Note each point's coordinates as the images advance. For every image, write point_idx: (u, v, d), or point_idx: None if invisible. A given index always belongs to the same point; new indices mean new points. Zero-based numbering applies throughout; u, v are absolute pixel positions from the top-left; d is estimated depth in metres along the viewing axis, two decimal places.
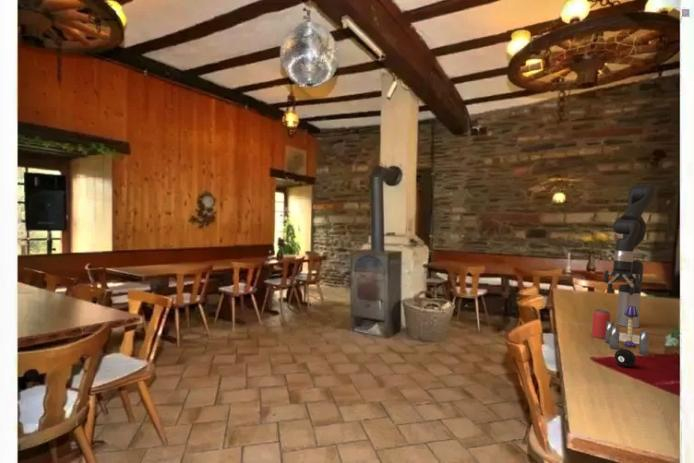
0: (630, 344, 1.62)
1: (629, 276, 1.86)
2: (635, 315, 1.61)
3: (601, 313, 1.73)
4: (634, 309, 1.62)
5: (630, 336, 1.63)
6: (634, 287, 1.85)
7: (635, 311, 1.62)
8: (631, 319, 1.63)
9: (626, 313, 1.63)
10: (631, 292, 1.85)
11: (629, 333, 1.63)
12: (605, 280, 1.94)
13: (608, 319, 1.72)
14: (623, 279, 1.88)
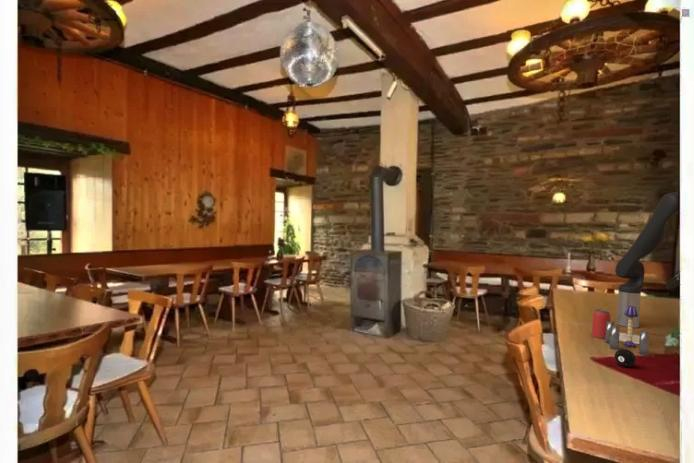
0: (630, 344, 1.62)
1: None
2: (635, 315, 1.61)
3: (601, 313, 1.73)
4: (634, 309, 1.62)
5: (630, 336, 1.63)
6: None
7: (635, 311, 1.62)
8: (631, 319, 1.63)
9: (626, 313, 1.63)
10: None
11: (629, 333, 1.63)
12: None
13: (608, 319, 1.72)
14: None
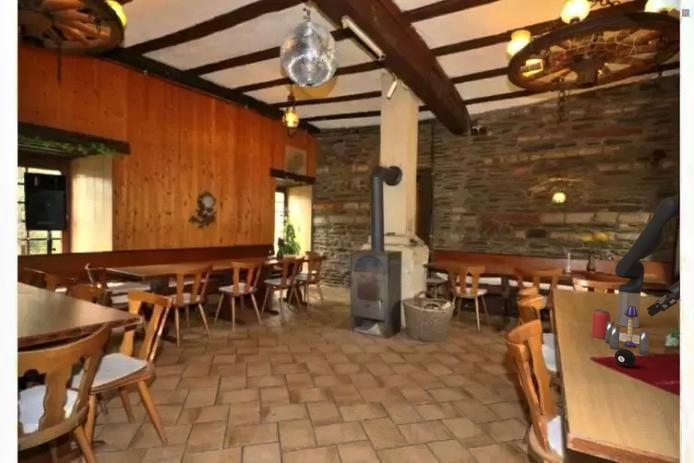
0: (630, 344, 1.62)
1: None
2: (635, 315, 1.61)
3: (601, 313, 1.73)
4: (634, 309, 1.62)
5: (630, 336, 1.63)
6: None
7: (635, 311, 1.62)
8: (631, 319, 1.63)
9: (626, 313, 1.63)
10: None
11: (629, 333, 1.63)
12: (665, 309, 1.52)
13: (608, 319, 1.72)
14: None
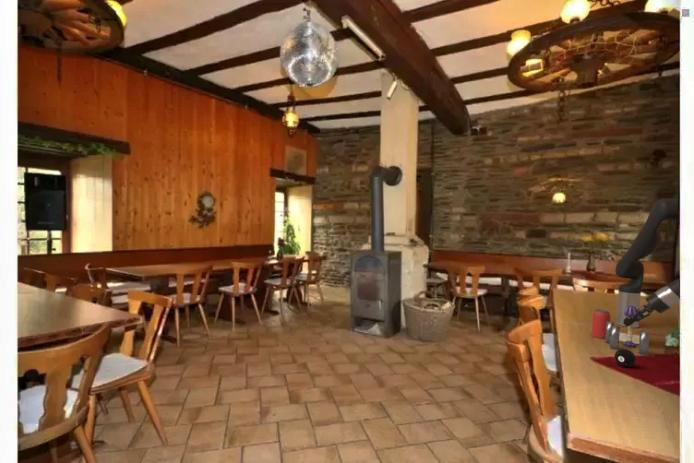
0: (630, 344, 1.62)
1: None
2: None
3: (601, 313, 1.73)
4: (634, 309, 1.62)
5: (630, 336, 1.63)
6: None
7: (635, 311, 1.62)
8: None
9: (626, 313, 1.63)
10: None
11: (629, 333, 1.63)
12: (639, 320, 1.58)
13: (608, 319, 1.72)
14: None
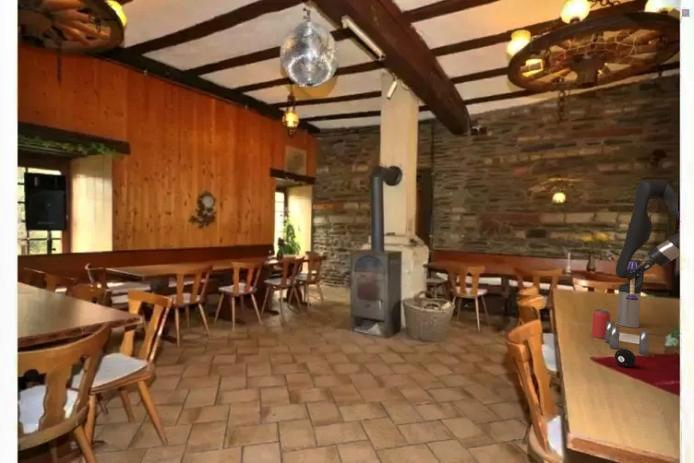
0: (632, 297, 1.69)
1: None
2: None
3: (601, 313, 1.73)
4: (636, 264, 1.69)
5: (632, 290, 1.70)
6: None
7: (637, 265, 1.69)
8: None
9: (628, 268, 1.70)
10: None
11: (631, 287, 1.70)
12: (641, 273, 1.65)
13: (608, 319, 1.72)
14: None
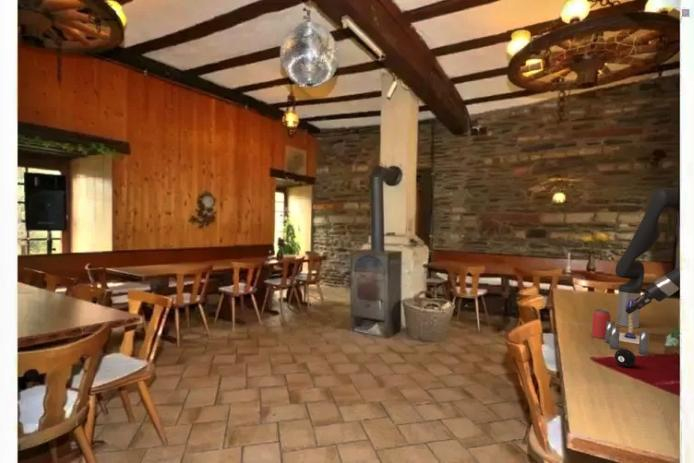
0: (631, 335, 1.71)
1: None
2: None
3: (601, 313, 1.73)
4: (634, 302, 1.71)
5: (631, 328, 1.72)
6: None
7: None
8: (632, 312, 1.72)
9: (627, 306, 1.73)
10: None
11: (630, 325, 1.72)
12: (640, 308, 1.66)
13: (608, 319, 1.72)
14: None
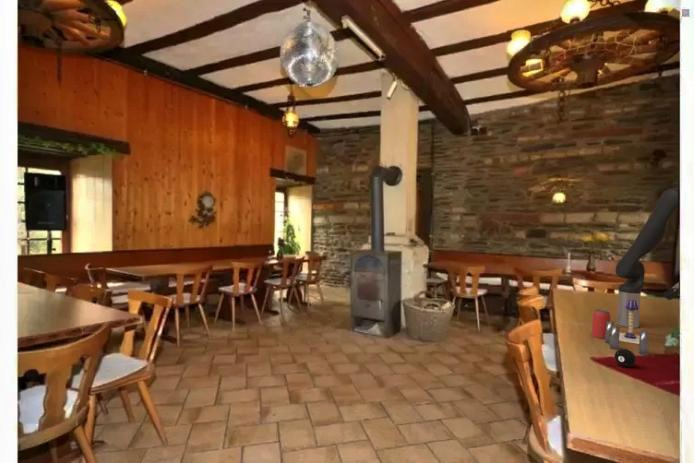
0: (631, 335, 1.71)
1: None
2: (635, 308, 1.71)
3: (601, 313, 1.73)
4: (634, 302, 1.71)
5: (631, 328, 1.72)
6: None
7: (635, 304, 1.71)
8: (632, 312, 1.72)
9: (627, 306, 1.72)
10: None
11: (630, 325, 1.72)
12: None
13: (608, 319, 1.72)
14: None
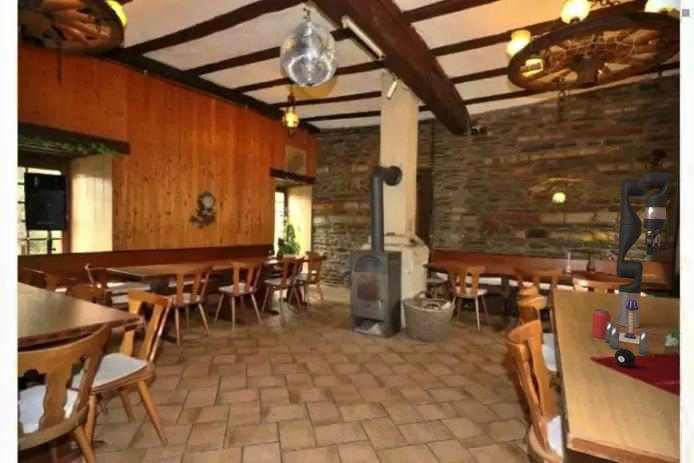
0: (631, 335, 1.71)
1: None
2: (635, 308, 1.71)
3: (601, 313, 1.73)
4: (634, 302, 1.71)
5: (631, 328, 1.72)
6: None
7: (635, 304, 1.71)
8: (632, 312, 1.72)
9: (627, 306, 1.72)
10: None
11: (630, 325, 1.72)
12: (652, 242, 1.67)
13: (608, 319, 1.72)
14: (657, 239, 1.71)
